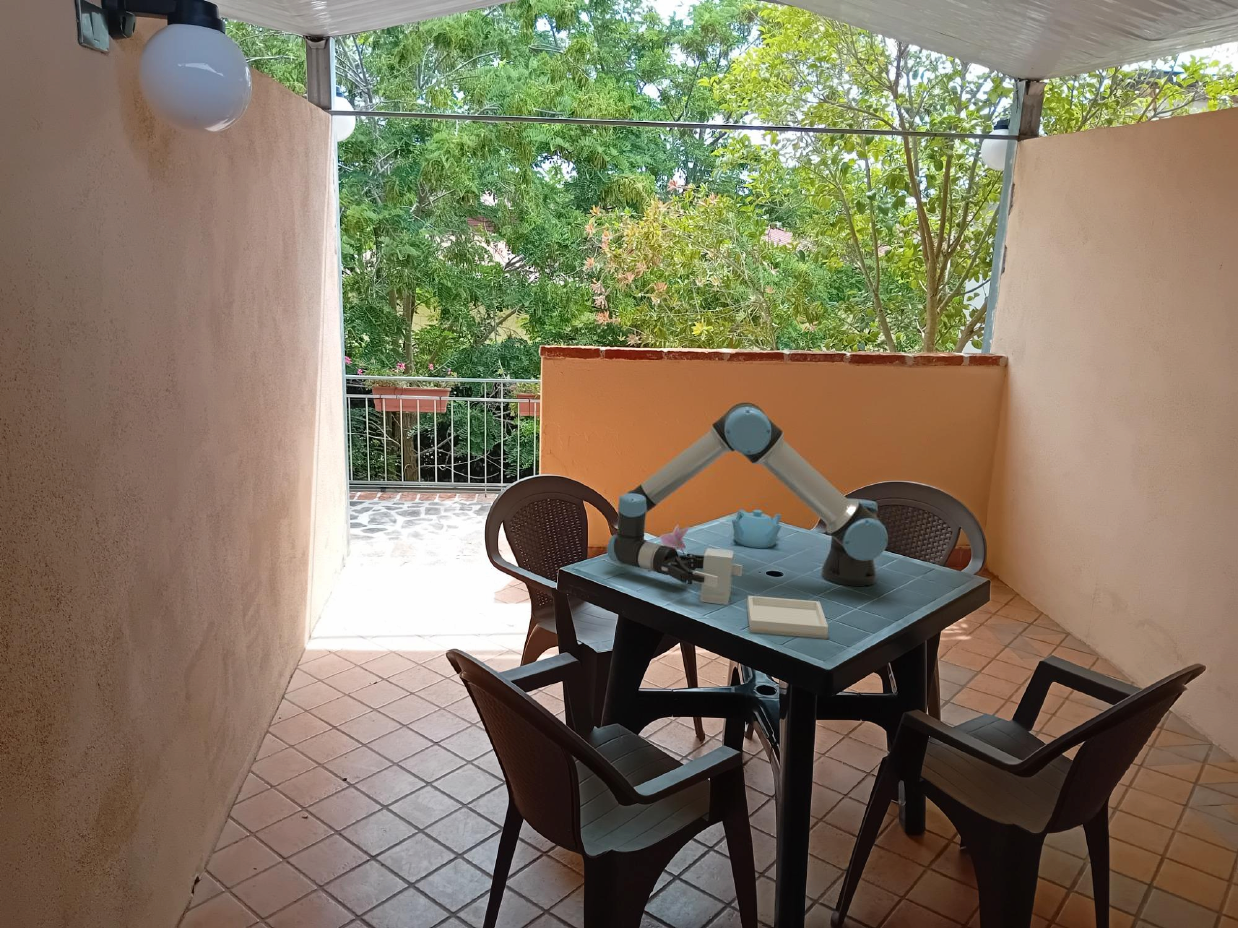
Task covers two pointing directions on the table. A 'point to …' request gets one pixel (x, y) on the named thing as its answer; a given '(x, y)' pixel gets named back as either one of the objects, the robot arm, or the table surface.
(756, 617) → the tray
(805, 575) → the table surface
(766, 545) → the teapot
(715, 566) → the supplement box
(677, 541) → the lily
